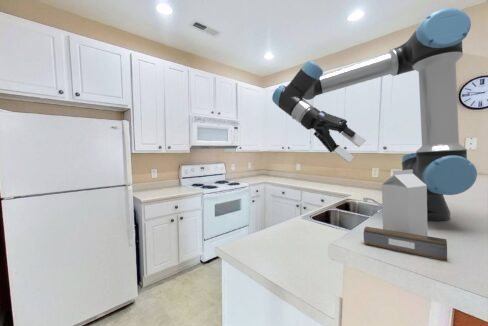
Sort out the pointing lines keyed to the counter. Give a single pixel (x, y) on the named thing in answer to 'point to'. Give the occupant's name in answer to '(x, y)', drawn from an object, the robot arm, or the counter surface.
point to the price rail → (407, 242)
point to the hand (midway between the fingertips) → (356, 152)
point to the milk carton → (405, 203)
